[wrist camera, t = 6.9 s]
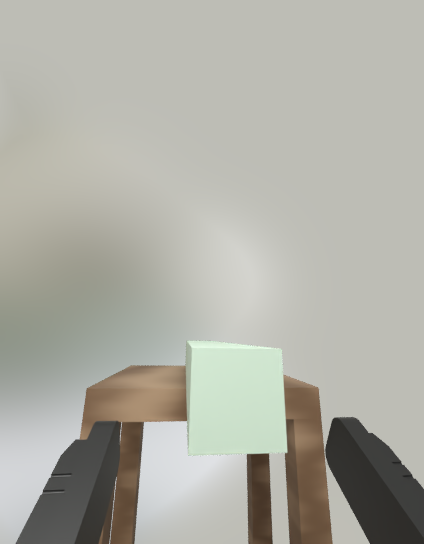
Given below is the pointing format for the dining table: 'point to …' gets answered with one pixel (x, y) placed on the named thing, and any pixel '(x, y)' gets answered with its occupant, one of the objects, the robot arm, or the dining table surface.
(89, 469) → the robot arm
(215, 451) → the sage bar
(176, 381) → the walnut shelf
